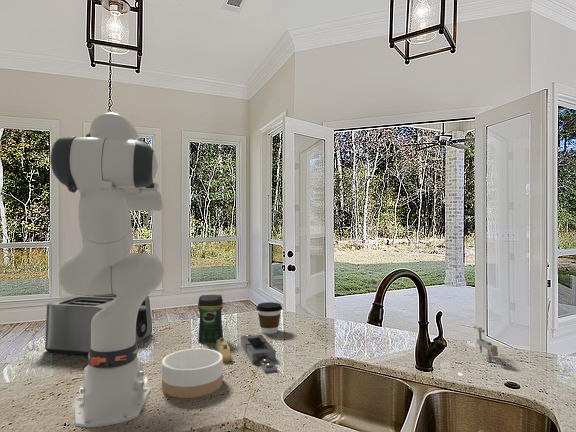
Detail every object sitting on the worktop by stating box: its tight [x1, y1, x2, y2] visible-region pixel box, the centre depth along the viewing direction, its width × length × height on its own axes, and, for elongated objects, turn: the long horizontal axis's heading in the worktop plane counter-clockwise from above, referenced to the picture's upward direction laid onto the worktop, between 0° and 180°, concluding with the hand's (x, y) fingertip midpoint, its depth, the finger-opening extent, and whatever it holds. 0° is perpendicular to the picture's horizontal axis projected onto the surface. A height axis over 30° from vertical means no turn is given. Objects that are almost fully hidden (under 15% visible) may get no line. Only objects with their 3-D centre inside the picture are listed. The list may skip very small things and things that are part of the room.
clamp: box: [473, 325, 499, 363], centre depth 136 cm, size 15×2×10 cm, turn 177°
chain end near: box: [246, 342, 278, 374], centre depth 129 cm, size 17×8×4 cm, turn 19°
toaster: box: [44, 294, 153, 356], centre depth 148 cm, size 29×32×19 cm
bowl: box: [161, 347, 224, 399], centre depth 112 cm, size 17×17×8 cm
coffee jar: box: [197, 294, 224, 344], centre depth 152 cm, size 10×8×19 cm
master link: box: [216, 337, 231, 362], centre depth 135 cm, size 11×3×6 cm, turn 19°
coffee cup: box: [256, 301, 283, 335], centre depth 163 cm, size 11×11×12 cm
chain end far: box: [240, 333, 269, 354], centre depth 147 cm, size 17×8×4 cm, turn 19°
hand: (131, 224), depth 134 cm, fingers open, 8 cm apart
